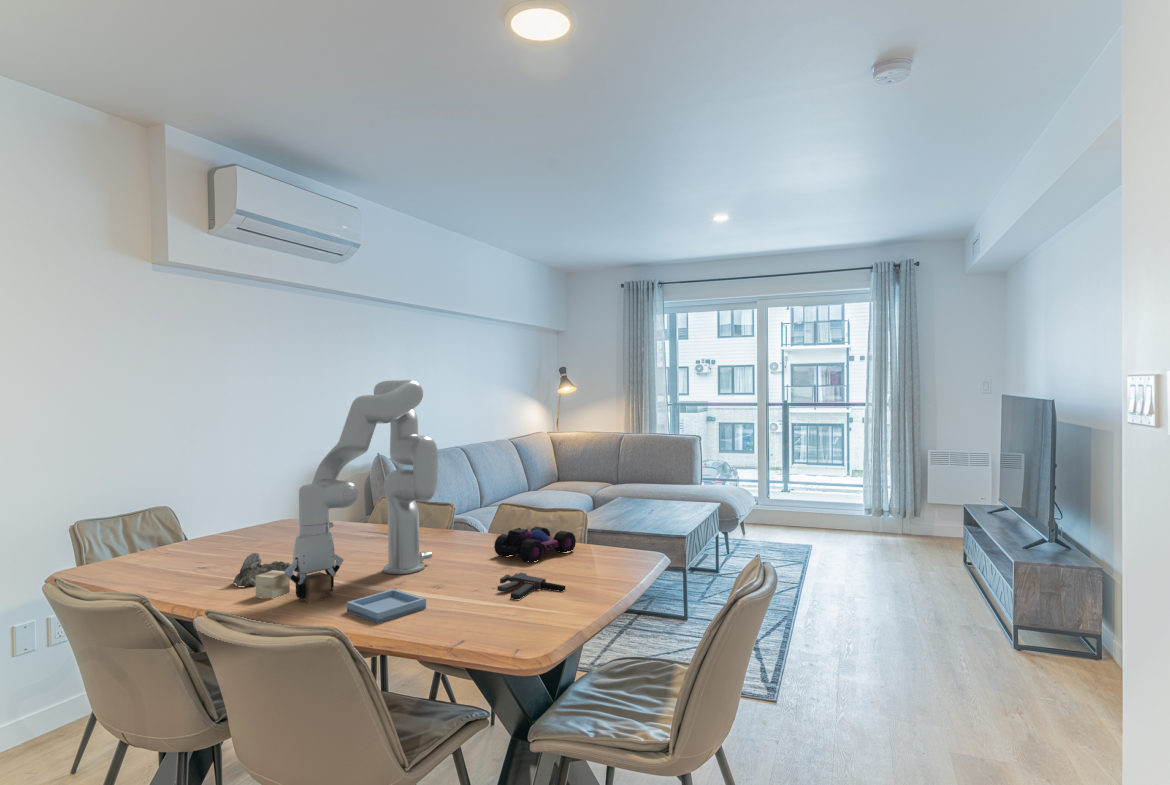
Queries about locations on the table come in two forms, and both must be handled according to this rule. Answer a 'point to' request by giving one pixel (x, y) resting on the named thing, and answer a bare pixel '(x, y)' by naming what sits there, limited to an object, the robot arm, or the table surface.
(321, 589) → the walnut cube
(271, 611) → the table surface
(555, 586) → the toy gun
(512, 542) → the toy car
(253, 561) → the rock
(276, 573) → the oak cube
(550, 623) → the table surface
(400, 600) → the tray
